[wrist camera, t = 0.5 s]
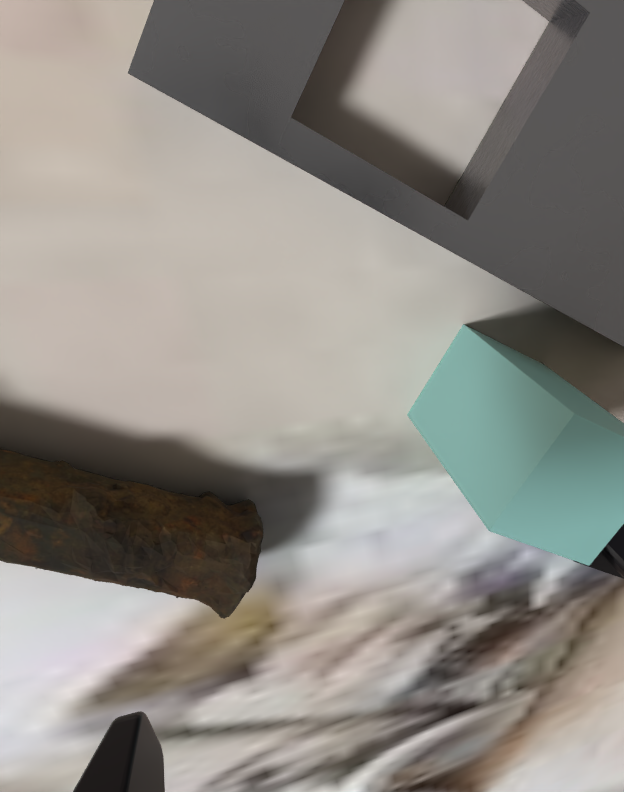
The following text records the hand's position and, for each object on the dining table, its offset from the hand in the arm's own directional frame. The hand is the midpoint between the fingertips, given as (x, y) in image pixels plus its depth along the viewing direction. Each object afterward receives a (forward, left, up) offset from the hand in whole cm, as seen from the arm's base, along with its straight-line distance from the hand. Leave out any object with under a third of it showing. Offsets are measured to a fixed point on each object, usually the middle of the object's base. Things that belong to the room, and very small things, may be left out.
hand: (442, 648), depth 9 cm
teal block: (-7, -1, -13) cm, 15 cm away
